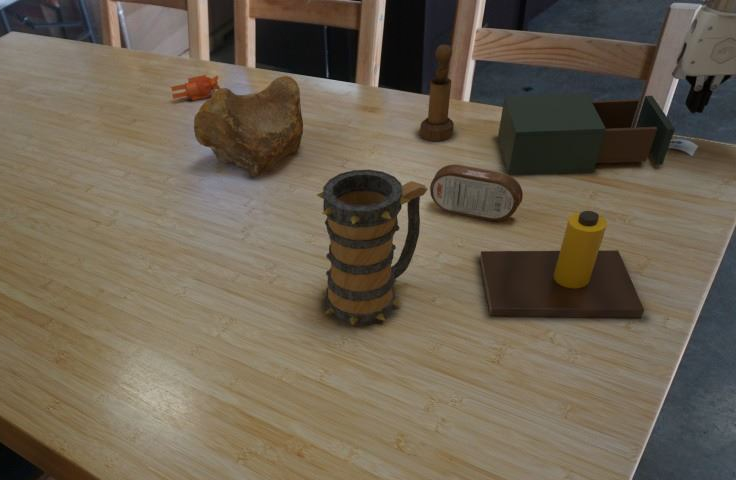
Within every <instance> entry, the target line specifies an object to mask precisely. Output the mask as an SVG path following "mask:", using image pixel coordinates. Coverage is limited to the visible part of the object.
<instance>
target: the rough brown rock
mask: <svg viewBox="0 0 736 480" xmlns="http://www.w3.org/2000/svg"><path fill="white" fill-rule="evenodd" d="M300 92H301V91H300V87H299V84H298V82H297V81H296V80H295V79H294V78H293V77H291V76H288V75H284V76H279V77H276V78H275V79H274V80H272V81H271V82H270V84H269V85H268V86H266V87H265V88H264V89H263V90H261V91H260V92H257V93H255V92H254V93H247V94H236V93H234V92H233V91H232V90H230V89H229V88H227V87H220V89H215V91H213V92H212V93H211V97H210V98H208V99H206V101H204V102H203V103H202V104H201V106H200V107H199V110H198V112H197V113H196V114H195V115H194V119H193V132H194V137H195V139H196V141H197V143H199V145H200V146H203V147H206V148H210V149H211V151H212V152H213V154H214V156H215V158H216V159H217V161H218V162H221V163H224V164H230V163H234V164H235V166H236V167H239V168H241V169H242V170H243V171H244V172H246V173H247V174H249V176H252V177H258V176H260V175H262V174H264V173H266V172H267V171H268V170H270V169H271V168H272V167H273V166H274V165H276V163H277V162H279V161H280V160H281V159H282V158H284V157H286V156H287V155H291V154H292V153H294V152H296V151H297V150H298V149H299V148H300V145H301V142H302V136H303V134H304V121H303V120H304V119H303V114H302V107H301V95H300V94H301V93H300Z"/></svg>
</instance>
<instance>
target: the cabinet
mask: <svg viewBox="0 0 736 480" xmlns="http://www.w3.org/2000/svg"><path fill="white" fill-rule="evenodd" d="M503 97H504V98H503V103H502V110H501V116H500V122H499V127H498V133H497V140H498V144H499V147H500V150H501V151H500V152H501V154H502V159H503V162H504V165H505V170H506V174H508V175H510V176H524V175H525V176H527V175H556V174H557V175H562V174H593V173H595V168H596V165H597V163H596V162H597V158H598V154H599V151H600V147H601V144H602V140H603V137H604V132H605V129H606V128H605V126H604V124H603V122H602V121H601V119H600V117H599V115H598V113H597V111H596V109H595V107H594V105H593V103H592V102H591V101H592V99H591V98H590V96H589V94H588V92H572V93H550V94H533V95H532V94H530V95H529V94H528V95H512V96H509V95H508V96H503Z"/></svg>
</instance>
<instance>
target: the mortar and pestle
mask: <svg viewBox="0 0 736 480" xmlns="http://www.w3.org/2000/svg"><path fill="white" fill-rule="evenodd" d="M435 50H436V51H435V58H436V60H437V62H438V67H436V69H435V73H436V77H434V78H432V79H431V80H430V87H429V98H428V99H429V100H428V109H427V111H428V112H427V117H426V118H425V119H424V120H422V121H421V122H420V127H419V136H420V138H421V139H423V140H426V141H431V142H442V141H445V140H448V139H449V138H451V137H452V136H453V134H454V125H455V124H454V121H453V120H452V119H451V118H450V117H449V109H450V98H451V90H452V79H450V78H449V77H447V76H448V74H449V67H448V62H449V60H450V59H451V57H452V55H453V49H452V46H451V45H449V44H446V43H443V44H439V46H438V47H437V48H436V49H435Z"/></svg>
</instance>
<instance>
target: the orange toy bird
mask: <svg viewBox="0 0 736 480" xmlns="http://www.w3.org/2000/svg"><path fill="white" fill-rule="evenodd" d="M187 79H188V80H187V81H188V82H185V83H184V84H180V85H174V86H170V87H171V88H170V89H171V92H177V91H180V92H177V93H173V94H172V99H179V98H184V97H186V98H188V99H189V98H190V99H191V101H195V100H200V99H204V98H209V97H210V94H212V93H213V92H215V91H216V90H218V89H220V88H221V87H220V85H219V83H218V79H219V75H215V76H211V77H208V76H207V74H202V75H197V76H192V77H188V78H187ZM181 90H185V91H182V92H181Z"/></svg>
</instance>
